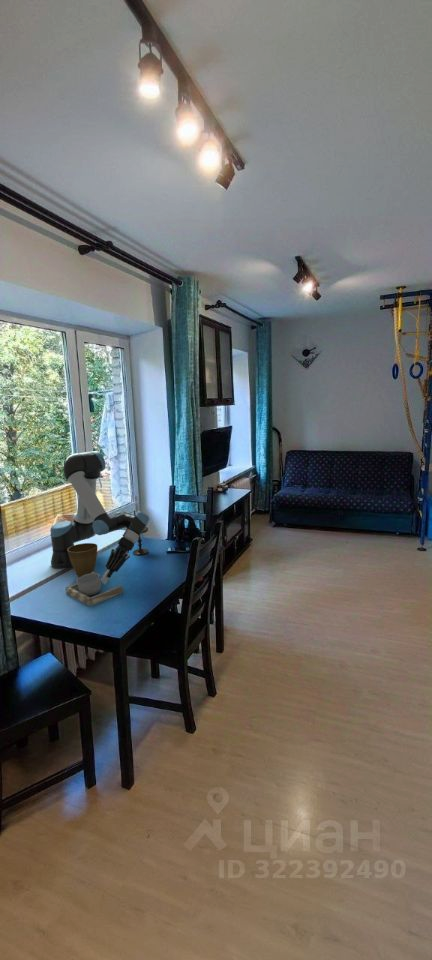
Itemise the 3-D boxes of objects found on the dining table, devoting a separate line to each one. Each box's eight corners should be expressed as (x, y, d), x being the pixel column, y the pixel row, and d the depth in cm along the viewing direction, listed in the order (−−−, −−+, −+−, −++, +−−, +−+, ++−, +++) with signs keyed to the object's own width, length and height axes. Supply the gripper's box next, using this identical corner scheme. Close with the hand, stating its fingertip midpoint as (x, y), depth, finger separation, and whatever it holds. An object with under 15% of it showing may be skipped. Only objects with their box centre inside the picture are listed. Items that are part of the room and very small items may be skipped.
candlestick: (148, 555, 261) (143, 496, 255) (129, 556, 261) (124, 497, 255) (151, 549, 272) (146, 492, 265) (133, 550, 272) (128, 493, 265)
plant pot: (106, 575, 234) (103, 546, 231) (80, 584, 224) (77, 554, 221) (90, 569, 244) (87, 540, 241) (65, 577, 234) (61, 548, 231)
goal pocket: (66, 593, 214) (65, 587, 214) (98, 581, 226) (98, 576, 226) (90, 605, 200) (89, 599, 199) (122, 592, 212) (122, 586, 212)
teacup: (95, 598, 207) (92, 582, 205) (74, 597, 209) (71, 581, 208) (109, 585, 220) (107, 569, 218) (89, 584, 222) (87, 569, 221)
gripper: (141, 546, 223) (115, 589, 214) (125, 541, 231) (100, 582, 223) (131, 538, 218) (105, 582, 209) (116, 534, 227) (90, 576, 218)
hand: (102, 582), depth 216 cm, fingers closed
